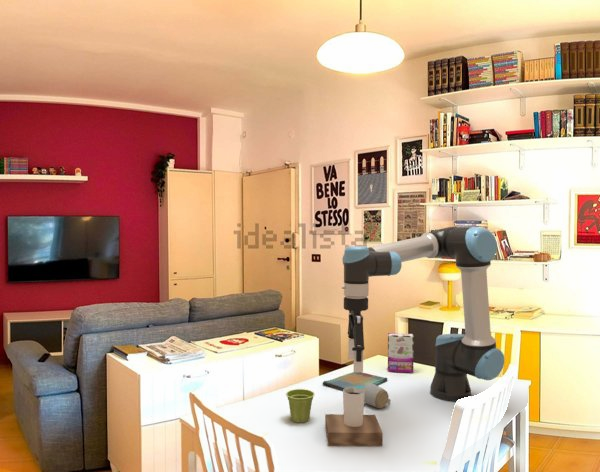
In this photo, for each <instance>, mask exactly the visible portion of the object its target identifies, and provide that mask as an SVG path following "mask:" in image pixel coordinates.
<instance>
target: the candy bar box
mask: <svg viewBox="0 0 600 472" xmlns="http://www.w3.org/2000/svg"><path fill="white" fill-rule="evenodd" d="M414 345H415V344H414V334H413V333H399V332H398V333H396V332H395V333H393V332H392V333H391V332H388V334H387V372H388V373H403V374H414V350H415V349H414Z"/></svg>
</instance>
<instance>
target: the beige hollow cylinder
mask: <svg viewBox="0 0 600 472" xmlns="http://www.w3.org/2000/svg"><path fill="white" fill-rule="evenodd" d="M364 394H365V391H364V390H363V389H361V388H354V387H351V388H345V389H344V390H343V391H342V397H343V398H342V400H343V402H342V403H343V414H344V424H345V425H347V426H350V427H359V426H361V425H363V415H364V409H365V403H364Z"/></svg>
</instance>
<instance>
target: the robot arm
mask: <svg viewBox="0 0 600 472" xmlns="http://www.w3.org/2000/svg"><path fill="white" fill-rule="evenodd" d="M497 252H498V243H497V240H496V237H495V235H494V234H493V233H492V232H491V231H490V230H489V229H488V228H485V227H480V226H479V227H478V226H449V227H444V228H440V229H436V230H432V231H429V232H427V231H426V232H423V234H421V235H420V236H416V237H413V238H408V239H403V240H398V241H397V240H396V241H393V242H388V243H384V244H379V245H374V246H373V245H372V246H370V247H368V246H366V245H365V246H362V245H358V246H357V245H352V246H351V245H350V246H347V247H345V248H344V253H343V255H342V260H341V261H342V264H343V285H342V286H341V289H342V290H343V295H344V297H343V309H344V310H345V311H348V327H347V328H348V329H347V337H348V343H347V347H348V349H347V350H348V351H347V355H348V358H347V359H348V360H353V372H362V373H364V350H365V338H364V337H365V336H364V316H363V315H362V313H361V312H364V311H367V310H369V298H368V296H369V290H370V289H369V286H370V284H369V280H370V279H369V277H385V276H388V277H390V276H395V275H398V274H399V273H400V271H401V269H402V267H403V266H402V263H404V262H405V263H406V262H409V261H413V260H417V259H422V258H428V259H434V258H448V259H454V260H455V267H456V268H458V269H459V270H460V275H461V276H460V278H461V291H462V293H461V294H462V304H463V305H462V306H463V318H464V321H463V322H464V331H465V334H464V333H463V334H462V333H444V334H439V335H438V336H437V337H436V339H435V345H434V346H435V347H434V348H435V349H434V350H435V351H434V352H435V354H434V356H435V360H434V361H435V365H434V366H435V369H434V370H435V371H434V376H433V378H432V381H431V384H430V387H429V388H430V389H429V391H430V392H429V393H430V395H432V396H433V397H434V398H436V399H440V400H444V401H450V402H458V401H457V400H458V399H461V398H464V397H468V396H471V397H472V388H471V385H470V383H469V379H468V376H471V377H475V378H477V379H479V380H484V381H492V380H493V379H494V380H495V379H496V378H497V377H499V375H500V373H501V372H502V370H503V368H504V367H505V366H504V365H505V355H504V353H503V351H502V350H501V349H499V348H497V340H496V338H495V337H493V336H492V335H491V334H492V333H491V321H490V320H491V319H490V318H491V317H490V316H491V315H490V306H489V305H490V304H489V303H490V302H489V301H490V300H489V288H488V286H489V285H488V275H487V274H488V273H487V272H488V271H487V270H488V268H490V266H491V263H492V262H491V261H492V260H493V259H495V257H496V254H497Z"/></svg>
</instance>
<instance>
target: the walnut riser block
mask: <svg viewBox="0 0 600 472" xmlns="http://www.w3.org/2000/svg"><path fill="white" fill-rule="evenodd" d="M324 415H325V417H324V418H325V419H324V420H325V421H324V422H325V423H324V426H325V428H324V429H325V433H326V440H327V446H328V447H383V440H384V439H383V438H384V436H383V435H384V433H383V430H382V428H381V425H380V423H379V420H378V418H377V416H376V414H363V425H361V426H359V427H350V426H347V425H345V424H344V413H343V414H341V413H340V414H337V413H336V414H330V413H329V414H326V413H325V414H324Z"/></svg>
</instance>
